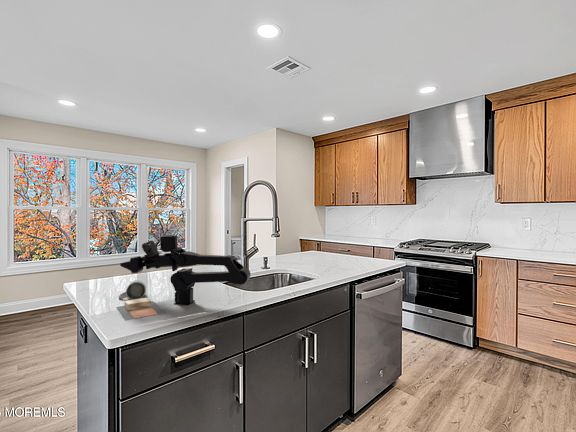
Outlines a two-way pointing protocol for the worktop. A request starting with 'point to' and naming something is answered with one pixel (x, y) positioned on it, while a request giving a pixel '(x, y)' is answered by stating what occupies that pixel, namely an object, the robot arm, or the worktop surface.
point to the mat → (140, 311)
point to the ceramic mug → (134, 290)
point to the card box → (137, 303)
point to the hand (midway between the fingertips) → (127, 262)
